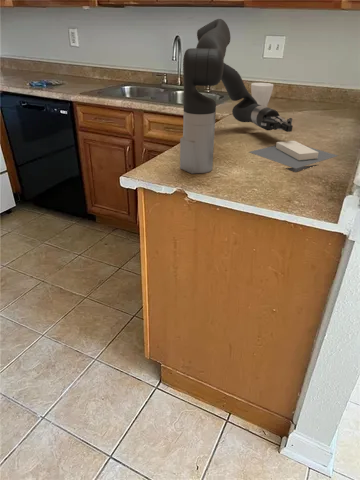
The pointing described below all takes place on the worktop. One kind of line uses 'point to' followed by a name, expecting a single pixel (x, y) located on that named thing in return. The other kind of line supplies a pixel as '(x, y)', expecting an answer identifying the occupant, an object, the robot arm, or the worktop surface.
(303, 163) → the mat
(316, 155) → the tile
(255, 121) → the robot arm
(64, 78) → the worktop surface
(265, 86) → the cup
